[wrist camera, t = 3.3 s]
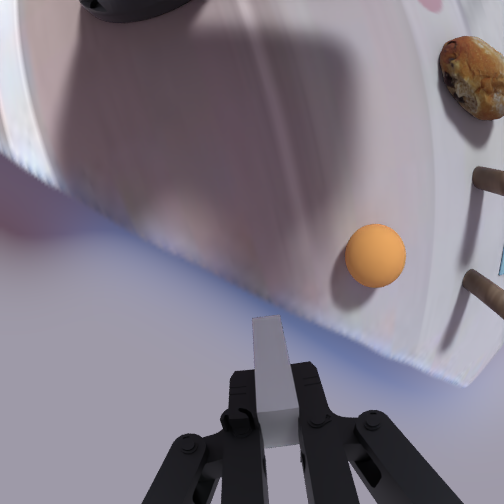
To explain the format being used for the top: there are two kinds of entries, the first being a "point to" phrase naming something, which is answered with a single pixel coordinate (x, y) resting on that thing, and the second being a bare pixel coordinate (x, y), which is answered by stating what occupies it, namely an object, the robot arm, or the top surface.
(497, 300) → the post
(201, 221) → the top surface
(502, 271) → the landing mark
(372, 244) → the ball
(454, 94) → the bread roll
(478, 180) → the post
